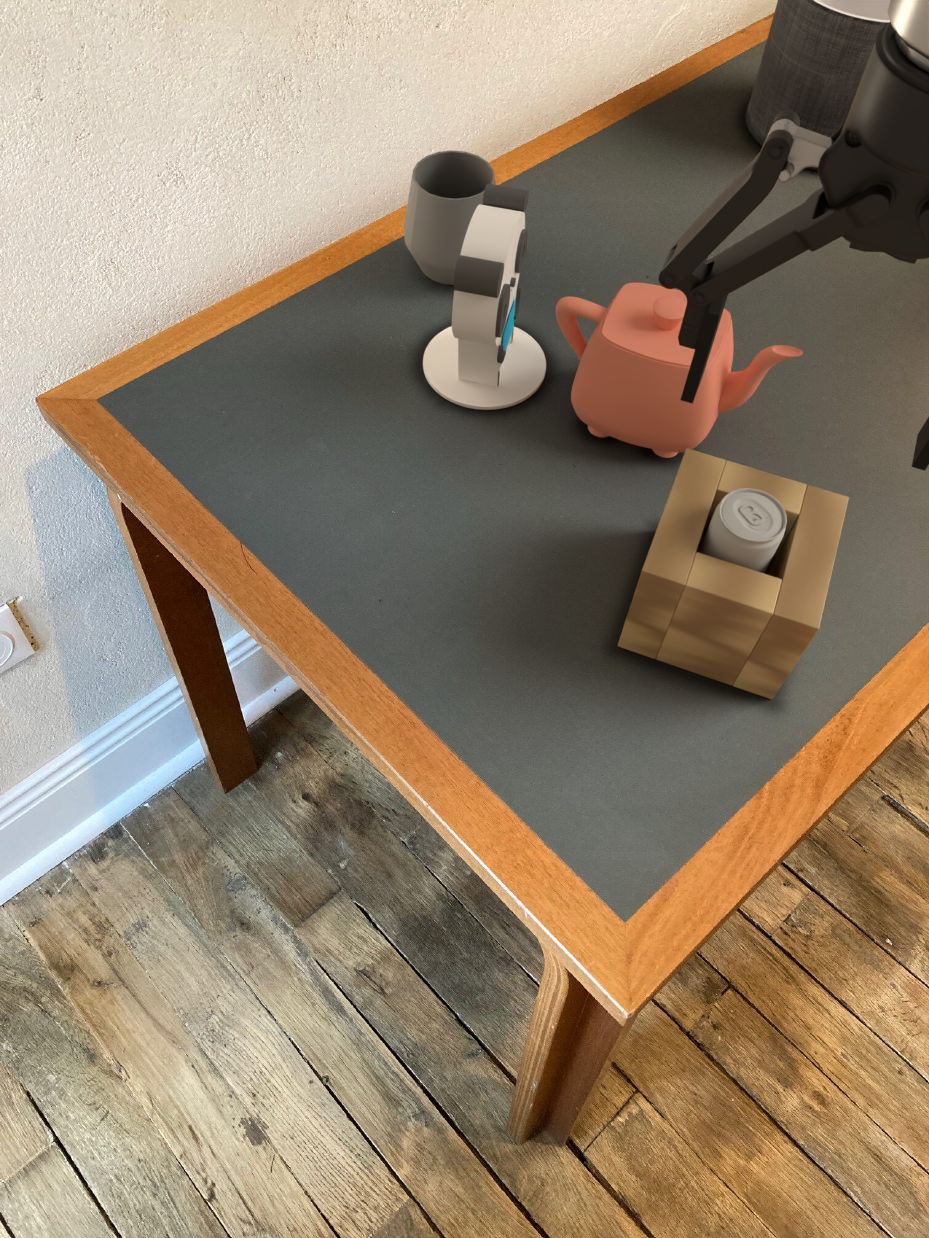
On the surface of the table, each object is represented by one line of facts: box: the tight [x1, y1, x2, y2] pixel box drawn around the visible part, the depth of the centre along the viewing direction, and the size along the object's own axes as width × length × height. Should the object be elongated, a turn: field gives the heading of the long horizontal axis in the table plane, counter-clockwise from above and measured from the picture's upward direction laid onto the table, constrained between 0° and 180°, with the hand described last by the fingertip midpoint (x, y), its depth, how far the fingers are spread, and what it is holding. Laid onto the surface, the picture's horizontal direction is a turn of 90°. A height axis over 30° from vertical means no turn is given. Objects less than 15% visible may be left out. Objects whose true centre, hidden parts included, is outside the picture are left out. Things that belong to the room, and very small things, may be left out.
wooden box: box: [617, 448, 850, 700], centre depth 69 cm, size 12×12×10 cm
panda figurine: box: [422, 183, 547, 411], centre depth 80 cm, size 12×11×15 cm
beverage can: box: [698, 488, 787, 573], centre depth 68 cm, size 5×5×12 cm
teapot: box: [555, 282, 804, 459], centre depth 79 cm, size 20×12×12 cm, turn 67°
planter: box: [745, 0, 891, 171], centre depth 102 cm, size 18×18×16 cm
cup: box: [403, 150, 497, 286], centre depth 90 cm, size 10×9×10 cm
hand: (803, 419), depth 55 cm, fingers open, 13 cm apart
